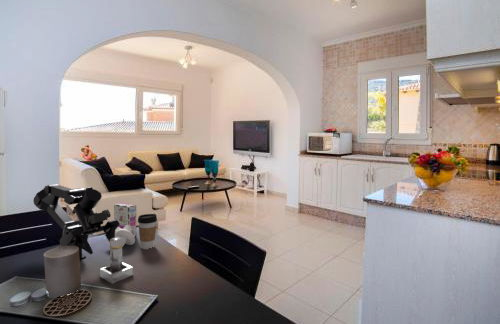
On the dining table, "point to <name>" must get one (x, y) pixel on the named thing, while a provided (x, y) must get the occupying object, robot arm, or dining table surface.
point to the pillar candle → (62, 270)
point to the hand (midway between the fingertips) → (103, 249)
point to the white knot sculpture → (124, 235)
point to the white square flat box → (116, 273)
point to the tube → (115, 254)
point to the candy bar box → (126, 216)
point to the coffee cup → (147, 230)
